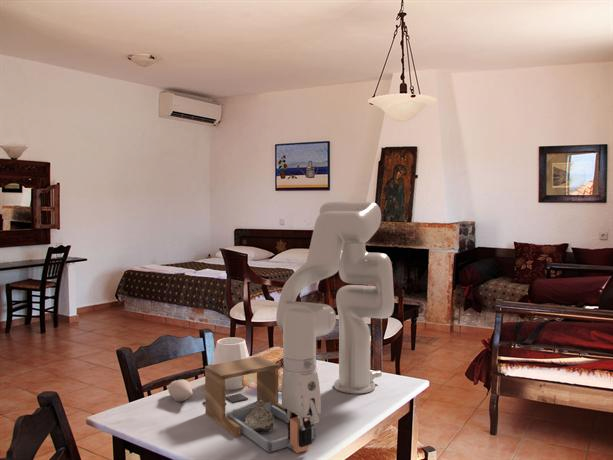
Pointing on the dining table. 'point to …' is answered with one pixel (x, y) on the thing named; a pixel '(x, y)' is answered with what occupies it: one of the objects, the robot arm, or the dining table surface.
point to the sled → (278, 443)
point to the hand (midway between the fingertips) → (299, 441)
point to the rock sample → (260, 418)
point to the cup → (230, 357)
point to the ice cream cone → (180, 390)
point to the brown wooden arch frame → (216, 393)
